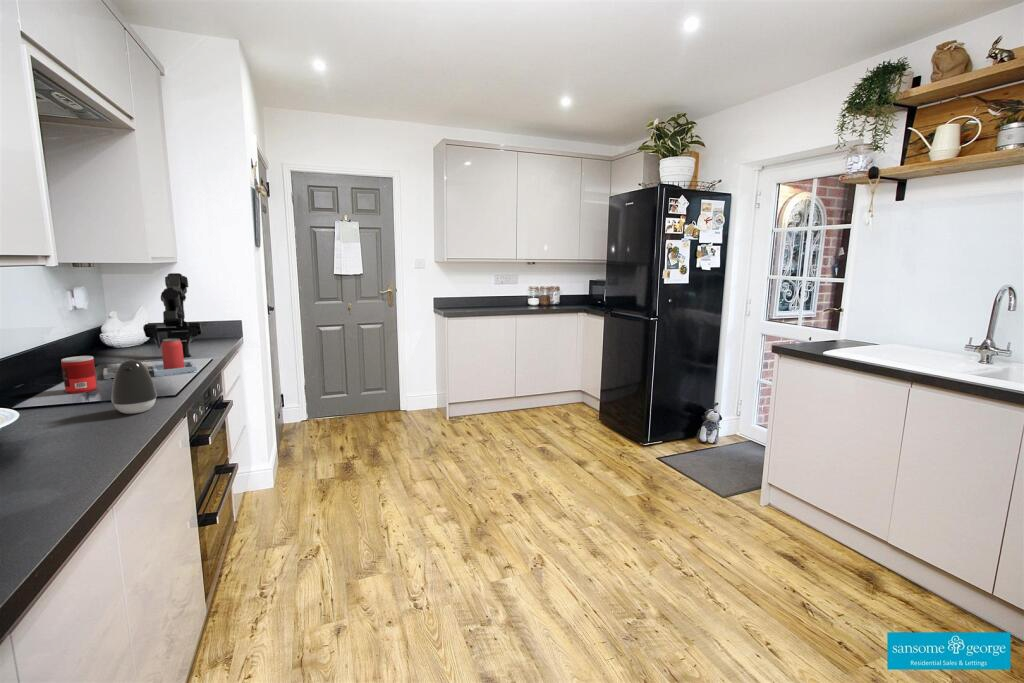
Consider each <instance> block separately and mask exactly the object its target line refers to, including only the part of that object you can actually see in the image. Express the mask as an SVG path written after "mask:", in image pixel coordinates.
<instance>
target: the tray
mask: <svg viewBox="0 0 1024 683" xmlns="http://www.w3.org/2000/svg"><path fill="white" fill-rule="evenodd" d="M151 366H152V373H153V372H154V373H153V375H154V377H155V378H158V376H160V377H166V376H165V375H168V376H172V375H171V374H177V375H182V374H181V373H186V374H188V373H187V372H194V371H197V370H198V369H197V366H196V364H195V363H194V362H193V361H184V368H175V369H166V370H164V366H163V363H161V364H152V365H151Z"/></svg>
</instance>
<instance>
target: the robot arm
mask: <svg viewBox="0 0 1024 683" xmlns="http://www.w3.org/2000/svg"><path fill="white" fill-rule="evenodd" d="M164 283H165V284H164V285H165V287H166V288H164V289H163V291H162V292H161V293H160V294H161V295H160V301H161V302H162V303H163V306H164V311H162V312H163V314H162V316H163V326H157V323H145V324H144V325H143V327H142V328H143V329H142V330H143V332H144V336H145V338H149V339H151V340H153V341H154V342H155V343H156V345H157V347H158V349H161V343H160V342H161V340H160V336H159V333H166V334H167V339H174V338H177V339H180V341H181V343H182V348H183V358H188V357H192V354H191V353H190V347H189V346H190V344H192V343H194V338H195V337H198V336H200V335H202V334H203V333H202V332H203V331H202V326H201V322H200V321H189V322H188V323H187V321H185V315H186V314H185V307H184V306H185V305H184V302H185V301H186V299H187V296H186V294H187V293H188V288H189V279H188V277H187V276H185V275H182V273H176V272H175V273H173V272H172V273H171V272H169V273H167V276H165V277H164Z"/></svg>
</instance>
